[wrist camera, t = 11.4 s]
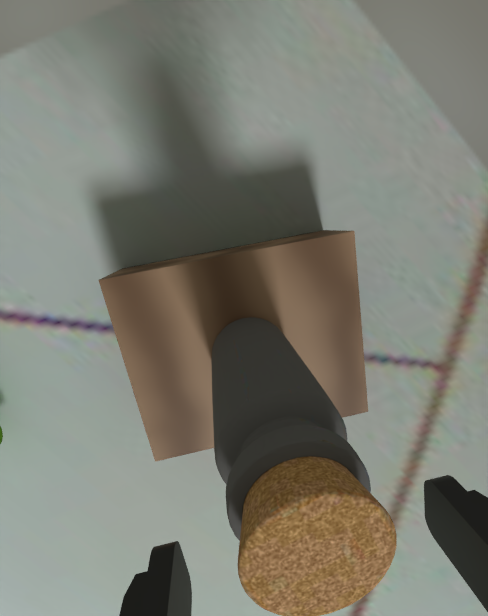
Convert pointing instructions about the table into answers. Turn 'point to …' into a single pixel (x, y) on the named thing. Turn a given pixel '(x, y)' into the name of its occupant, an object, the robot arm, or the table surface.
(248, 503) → the bottle
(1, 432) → the toy crocodile
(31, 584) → the table surface
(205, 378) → the wooden box
